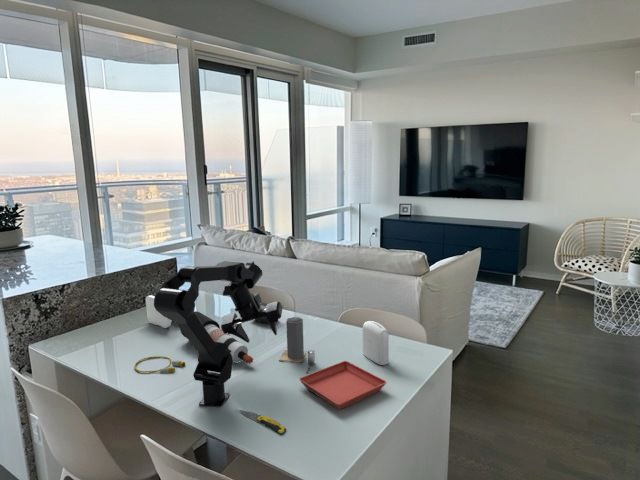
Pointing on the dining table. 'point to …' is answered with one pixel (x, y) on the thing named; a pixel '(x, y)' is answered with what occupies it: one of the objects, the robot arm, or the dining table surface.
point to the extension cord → (164, 370)
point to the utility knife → (265, 421)
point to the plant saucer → (342, 384)
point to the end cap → (264, 319)
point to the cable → (224, 339)
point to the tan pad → (285, 358)
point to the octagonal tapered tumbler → (295, 338)
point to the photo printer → (376, 342)
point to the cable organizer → (156, 314)
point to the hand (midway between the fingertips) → (262, 338)
